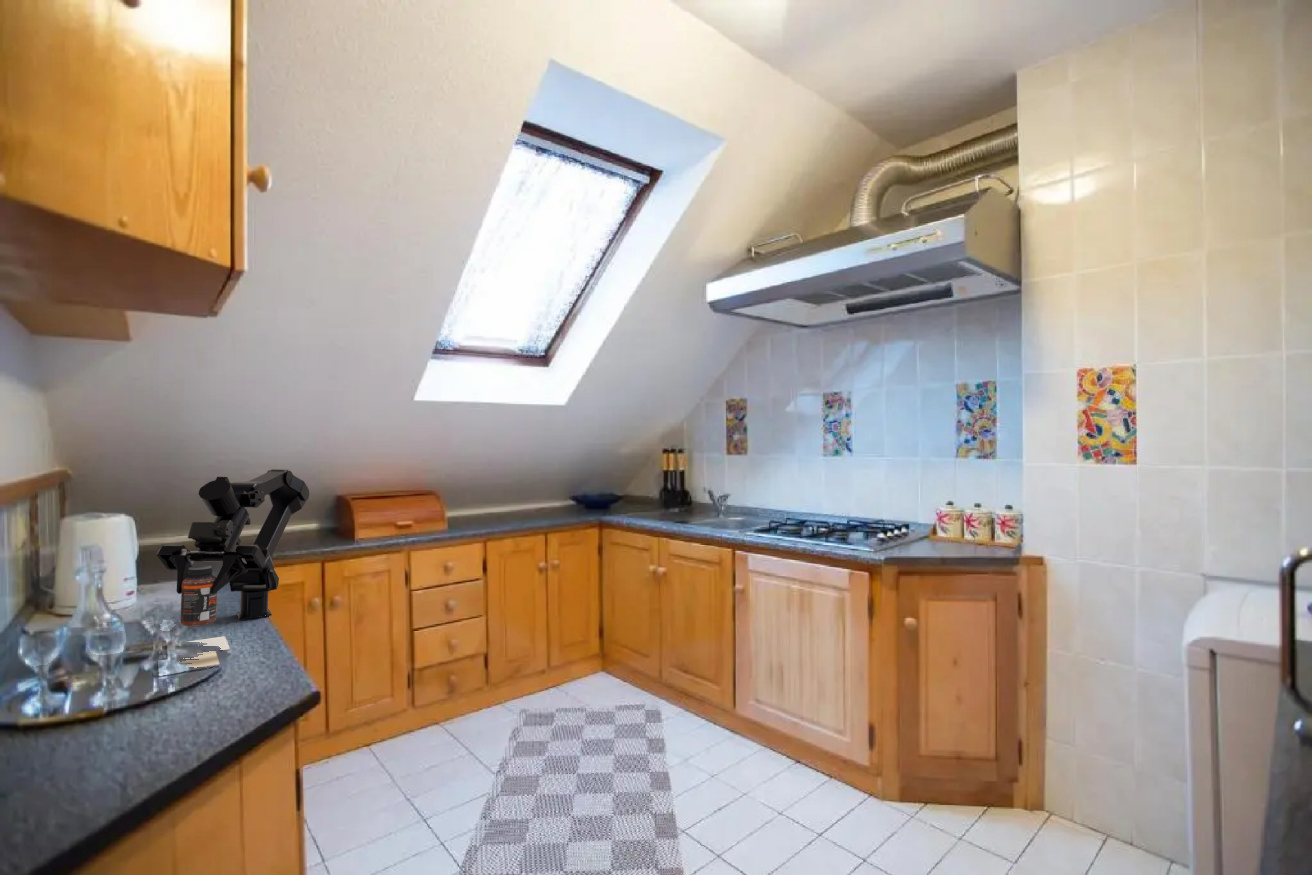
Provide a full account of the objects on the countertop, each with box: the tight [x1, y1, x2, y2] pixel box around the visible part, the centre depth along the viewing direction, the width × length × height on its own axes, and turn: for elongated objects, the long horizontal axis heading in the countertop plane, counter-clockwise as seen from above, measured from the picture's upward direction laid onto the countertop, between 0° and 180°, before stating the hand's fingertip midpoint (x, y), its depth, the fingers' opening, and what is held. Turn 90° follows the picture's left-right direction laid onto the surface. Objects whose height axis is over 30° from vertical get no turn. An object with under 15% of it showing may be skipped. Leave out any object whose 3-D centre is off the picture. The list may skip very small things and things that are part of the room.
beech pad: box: [179, 651, 221, 668], centre depth 118 cm, size 9×9×1 cm
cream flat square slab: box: [187, 635, 231, 651], centre depth 128 cm, size 10×10×1 cm
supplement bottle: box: [180, 565, 218, 627], centre depth 128 cm, size 6×6×11 cm
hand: (195, 592), depth 127 cm, fingers closed on supplement bottle, 6 cm apart
